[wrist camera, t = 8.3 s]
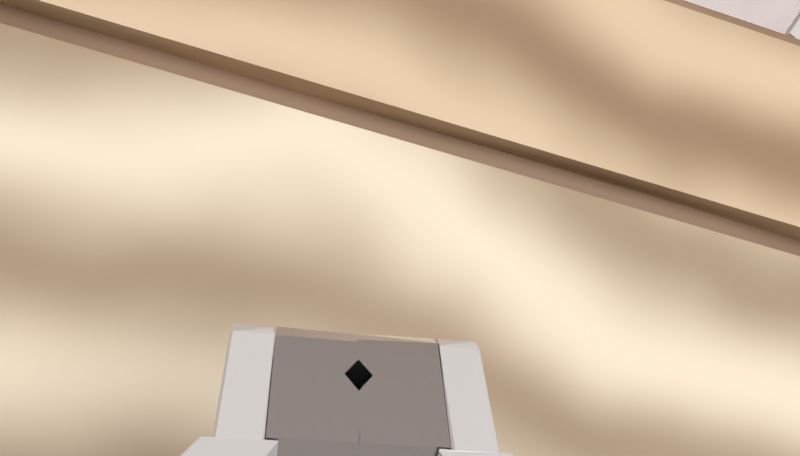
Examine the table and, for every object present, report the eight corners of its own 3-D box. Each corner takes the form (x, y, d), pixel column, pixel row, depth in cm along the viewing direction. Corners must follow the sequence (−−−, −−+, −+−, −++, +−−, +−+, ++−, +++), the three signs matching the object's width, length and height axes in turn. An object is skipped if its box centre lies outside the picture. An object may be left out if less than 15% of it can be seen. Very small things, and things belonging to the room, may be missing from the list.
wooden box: (706, 672, 27) (811, 751, 22) (-199, 492, 22) (-332, 538, 17) (793, 98, 31) (899, 51, 26) (39, -147, 26) (-13, -261, 21)
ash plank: (775, 661, 22) (805, 677, 21) (-234, 455, 19) (-266, 461, 17) (817, 274, 25) (844, 269, 24) (-57, 21, 21) (-74, 1, 20)
